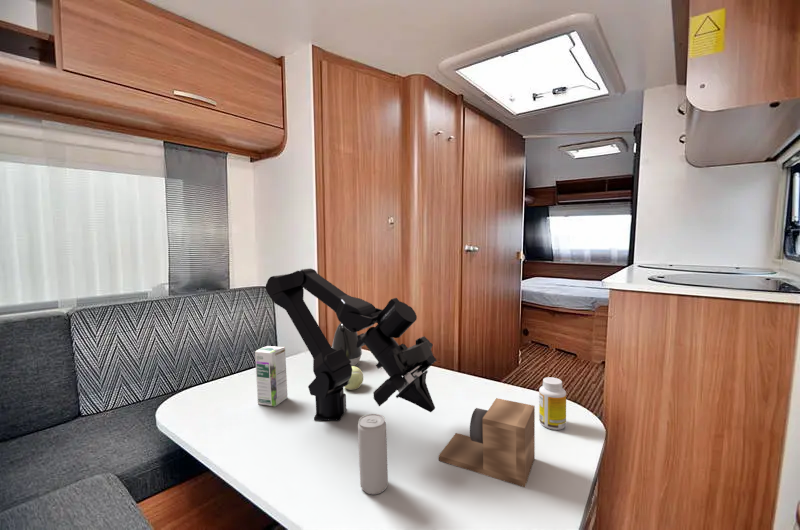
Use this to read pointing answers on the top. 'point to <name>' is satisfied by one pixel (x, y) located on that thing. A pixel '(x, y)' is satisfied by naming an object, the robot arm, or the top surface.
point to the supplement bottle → (552, 404)
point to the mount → (498, 444)
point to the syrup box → (271, 375)
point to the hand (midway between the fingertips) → (433, 410)
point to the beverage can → (373, 453)
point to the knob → (477, 425)
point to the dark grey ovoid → (347, 344)
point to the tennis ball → (355, 379)
